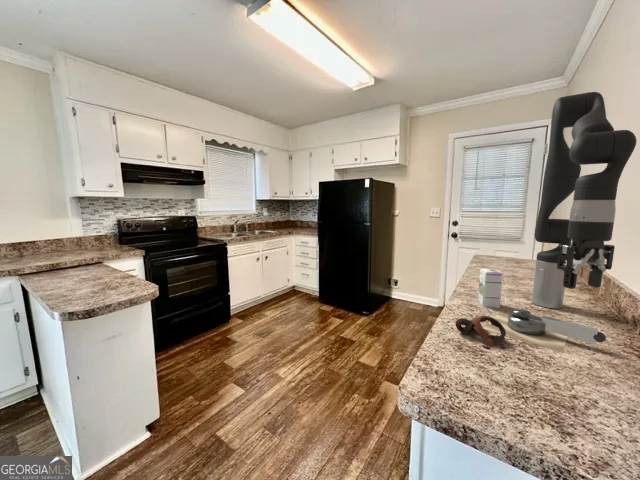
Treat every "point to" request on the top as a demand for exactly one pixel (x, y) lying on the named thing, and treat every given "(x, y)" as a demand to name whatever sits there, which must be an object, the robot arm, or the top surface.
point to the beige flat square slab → (546, 340)
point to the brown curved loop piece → (482, 329)
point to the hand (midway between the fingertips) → (581, 287)
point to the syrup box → (490, 288)
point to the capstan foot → (552, 327)
